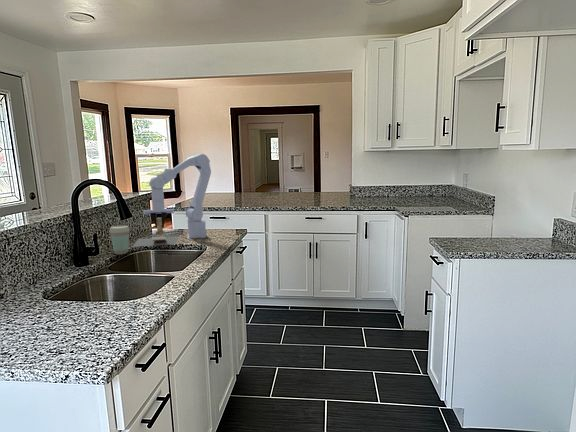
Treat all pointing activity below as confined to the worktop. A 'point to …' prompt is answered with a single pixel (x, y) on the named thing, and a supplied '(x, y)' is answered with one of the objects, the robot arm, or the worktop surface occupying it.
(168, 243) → the mat
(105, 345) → the worktop surface
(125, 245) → the coffee cup
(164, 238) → the tile
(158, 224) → the stepped wooden block
